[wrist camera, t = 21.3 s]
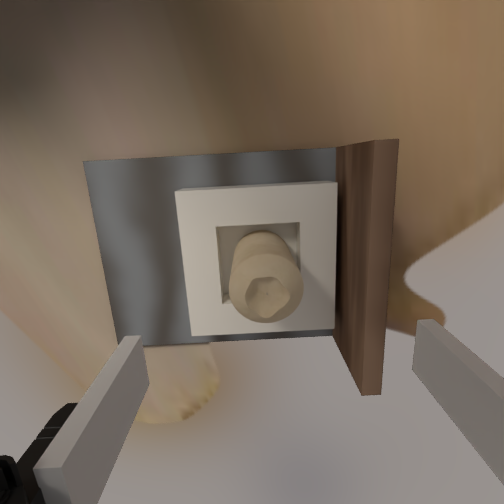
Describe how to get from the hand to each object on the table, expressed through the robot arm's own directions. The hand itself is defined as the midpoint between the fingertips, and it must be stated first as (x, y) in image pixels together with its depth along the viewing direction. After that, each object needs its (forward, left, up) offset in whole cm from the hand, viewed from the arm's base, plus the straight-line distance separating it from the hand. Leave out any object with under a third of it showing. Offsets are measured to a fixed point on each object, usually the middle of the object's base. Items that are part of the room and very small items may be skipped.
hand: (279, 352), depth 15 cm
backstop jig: (-4, 0, -19) cm, 19 cm away
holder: (0, 0, -18) cm, 18 cm away
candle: (0, 0, -17) cm, 17 cm away
